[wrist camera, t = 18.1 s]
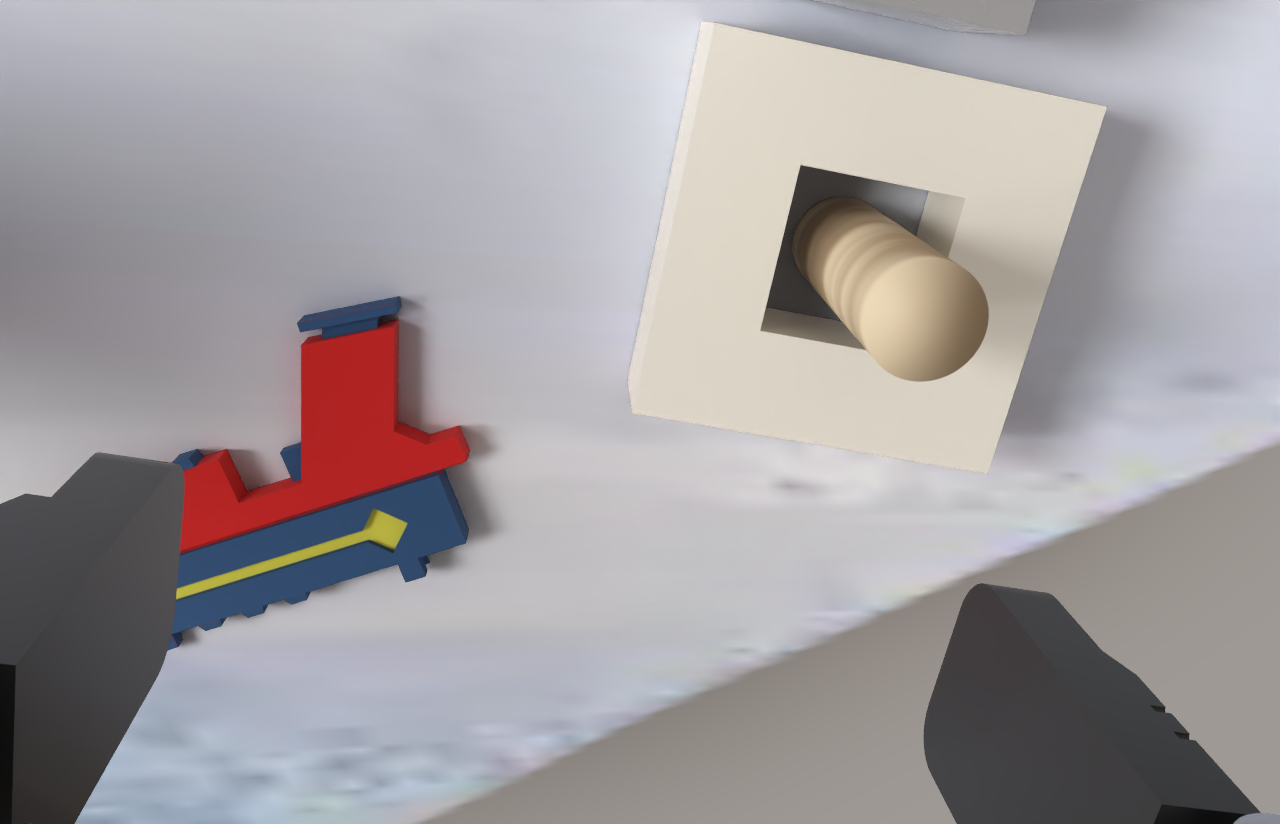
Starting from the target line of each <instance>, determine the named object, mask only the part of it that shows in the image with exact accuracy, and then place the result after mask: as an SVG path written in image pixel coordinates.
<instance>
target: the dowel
mask: <svg viewBox="0 0 1280 824" xmlns="http://www.w3.org/2000/svg"><path fill="white" fill-rule="evenodd" d="M793 256H794V260H795V263H796V265H797V267H798V269H799V271H800V272H801V273H802V275H803V276H804V277H805V278H806V280H807V281H808V282H809V283H810V284H811V285H812V287H813V288H814V289H815V290H816V291H817V293H818V294H819V295H820V296H821V297H822V298H823V300H824V301H825V302H826V303H827V304H828V305H829V307H830V308H831V309H832V310H833V311H834V313H835V314H836V315H837V316H838V317H839V318H840V320H841V321H842V322H843V323H844V324H845V326H846V327H847V328H848V329H849V330H850V331H851V333H852V334H853V335H854V336H855V337H856V338H857V340H858V341H859V342H860V343H861V344H862V346H863V347H864V348H865V349H866V350H867V351H868V353H869V354H870V355H871V356H872V357H873V359H874V360H875V361H876V362H877V363H878V364H879V365H880V366H881V367H882V368H883V369H884V370H886V371H887V372H888V373H890V374H892V375H894V376H896V377H898V378H901V379H904V380H908V381H916V382H925V381H932V380H937V379H940V378H943V377H946V376H948V375H950V374H952V373H954V372H956V371H957V370H958V369H960V368H961V367H963V366H964V365H965V364H966V363H967V362H968V361H969V360H970V359H971V358H972V357H973V356H974V355H975V353H976V352H977V350H978V349H979V347H980V345H981V344H982V342H983V340H984V337H985V334H986V331H987V327H988V320H989V308H988V302H987V299H986V295H985V293H984V291H983V289H982V287H981V285H980V284H979V282H978V281H977V280H976V278H975V277H974V276H973V275H972V274H971V273H969V272H968V271H967V270H966V269H964V268H963V267H961V266H960V265H958V264H957V263H955V262H954V261H952V260H951V259H949V258H948V257H946V256H945V255H943V254H942V253H940V252H939V251H937V250H936V249H934V248H933V247H931V246H930V245H928V244H927V243H925V242H924V241H923V240H921V239H920V238H918V237H917V236H915V235H914V234H912V233H911V232H909V231H908V230H906V229H905V228H903V227H902V226H900V225H899V224H897V223H896V222H894V221H893V220H891V219H890V218H888V217H887V216H885V215H884V214H882V213H881V212H879V211H878V210H876V209H875V208H873V207H872V206H870V205H869V204H867V203H866V202H864V201H862V200H860V199H857V198H853V197H847V196H838V197H832V198H828V199H826V200H823V201H821V202H819V203H817V204H816V205H814V206H813V207H812V208H810V209H809V210H808V211H807V212H806V213H805V215H804V216H803V217H802V218H801V220H800V222H799V223H798V225H797V228H796V230H795V233H794V237H793Z"/></svg>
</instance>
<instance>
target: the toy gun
mask: <svg viewBox="0 0 1280 824" xmlns="http://www.w3.org/2000/svg"><path fill="white" fill-rule="evenodd" d="M401 306H402V305H401V301H400V297H399V296H398V297H393V298H388V299H384V300H379V301H374V302H369V303H364V304H359V305H354V306H349V307H344V308H339V309H334V310H329V311H324V312H319V313H314V314H309V315H304V316H303V317H302V318H301V319H300V320H299V321H298V323H297V324H298V327H299V331H300V332H304V331H309V330H314V329H319V328H323V329H322V335H317V336H312V337H308V338H307V339H306V340H305V342H304V343H303V344H302V345H301V443H298V444H295V445H292V446H289V447H285V448H283V450H282V451H281V452H280V454H281V456H282V458H283V460H284V463H285V465H286V467H287V469H288V471H289V474H290V476H291V478H288V479H285V480H282V481H279V482H276V483H272V484H269V485H266V486H263V487H260V488H257V489H253V490H250V491H247V490H246V488H245V486H244V484H243V482H242V480H241V478H240V476H239V473H238V471H237V469H236V467H235V465H234V463H233V461H232V459H231V457H230V455H229V453H228V450H227V449H226V450H222V451H219V452H216V453H213V454H210V455H207V456H203V455H202V454H201V453H200V452H199V450H198V449H196V450H193V451H189V452H186V453H183V454H180V455H179V456H178V457H177V458H176V459H175V460H174V461H173V462H172V463H174V464H180V465H181V467H182V469H183V473H184V481H185V489H184V504H183V517H182V530H181V543H180V555H179V568H178V581H177V594H176V607H175V616H174V623H173V628H172V633H171V638H170V642H169V646H168V650H170V649H173V648H177V647H179V645H180V643H181V642H182V640H183V639H182V637H181V635H180V633H179V632H180V631H183V630H186V629H190V628H193V627H196V626H199V627H201V628H202V629H204V630H205V631H207V630H210V629H214V628H217V627H220V626H222V624H223V623H224V621H225V619H226V618H227V617H228V616H232V615H235V614H238V613H242V614H244V615H245V616H247V617H248V618H249V617H253V616H256V615H259V614H262V613H264V612H265V610H266V608H267V606H268V605H269V604H271V603H274V602H277V601H280V600H286V601H287V602H288V603H290V604H295V603H298V602H301V601H304V600H307V598H308V596H309V594H310V592H311V591H313V590H316V589H319V588H322V587H326V586H329V585H332V584H335V583H339V582H342V581H345V580H348V579H352V578H355V577H358V576H361V575H365V574H368V573H371V572H374V571H378V570H381V569H384V568H387V567H390V566H394V565H397V564H398V566H399V568H400V571H401V573H402V575H403V578H404V580H405V582H409V581H412V580H416V579H419V578H422V577H425V576H426V573H427V567H426V565H425V564H428V563H430V561H429V559H428V556H427V555H429V554H433V553H436V552H439V551H442V550H446V549H449V548H452V547H455V546H459V545H462V544H465V543H466V540H467V536H468V531H469V528H468V526H467V523H466V521H465V519H464V516H463V514H462V511H461V509H460V506H459V504H458V501H457V499H456V496H455V494H454V492H453V489H452V487H451V484H450V482H449V479H448V477H447V474H446V472H445V469H444V468H447V467H450V466H454V465H457V464H460V463H463V462H466V461H467V460H468V456H469V452H470V449H469V447H468V445H467V442H466V440H465V438H464V435H463V433H462V431H461V428H460V426H456V427H452V428H449V429H446V430H443V431H440V432H437V433H433V434H428V433H425V432H423V431H420V430H418V429H416V428H413V427H411V426H408V425H406V424H403V423H401V422H398V319H396V320H391V321H386V322H381V323H380V320H381V316H383V315H388V314H393V313H397V312H398V311H399V309H400V307H401Z"/></svg>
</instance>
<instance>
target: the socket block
mask: <svg viewBox="0 0 1280 824" xmlns="http://www.w3.org/2000/svg"><path fill="white" fill-rule="evenodd" d="M1106 109H1107V107H1106V106H1101V105H1096V104H1092V103H1087V102H1082V101H1078V100H1073V99H1068V98H1064V97H1059V96H1054V95H1050V94H1045V93H1040V92H1036V91H1031V90H1026V89H1022V88H1017V87H1012V86H1008V85H1003V84H998V83H994V82H989V81H984V80H980V79H975V78H970V77H966V76H961V75H956V74H952V73H947V72H942V71H938V70H933V69H928V68H924V67H919V66H914V65H910V64H905V63H900V62H896V61H891V60H886V59H882V58H877V57H873V56H868V55H863V54H859V53H854V52H849V51H845V50H840V49H835V48H831V47H826V46H821V45H817V44H812V43H807V42H803V41H798V40H793V39H789V38H784V37H779V36H775V35H770V34H765V33H761V32H756V31H751V30H747V29H742V28H737V27H733V26H728V25H723V24H719V23H713V22H701V27H700V32H699V37H698V42H697V46H696V51H695V56H694V61H693V66H692V71H691V75H690V80H689V85H688V90H687V95H686V100H685V104H684V109H683V114H682V119H681V124H680V129H679V134H678V138H677V143H676V148H675V153H674V158H673V163H672V167H671V172H670V177H669V182H668V187H667V192H666V196H665V201H664V206H663V211H662V216H661V221H660V225H659V230H658V235H657V240H656V245H655V250H654V254H653V259H652V264H651V269H650V274H649V279H648V283H647V288H646V293H645V298H644V303H643V308H642V312H641V317H640V322H639V327H638V332H637V337H636V341H635V346H634V351H633V356H632V361H631V366H630V370H629V375H628V386H629V393H630V400H631V407H632V413H633V414H639V415H645V416H651V417H657V418H663V419H668V420H674V421H680V422H686V423H692V424H698V425H703V426H709V427H715V428H721V429H727V430H733V431H738V432H744V433H750V434H756V435H762V436H767V437H773V438H779V439H785V440H791V441H797V442H802V443H808V444H814V445H820V446H826V447H832V448H837V449H843V450H849V451H855V452H861V453H867V454H872V455H878V456H884V457H890V458H896V459H901V460H907V461H913V462H919V463H925V464H931V465H936V466H942V467H948V468H954V469H960V470H966V471H971V472H977V473H983V474H988V471H989V468H990V465H991V462H992V459H993V456H994V453H995V450H996V447H997V444H998V441H999V438H1000V434H1001V431H1002V428H1003V425H1004V422H1005V419H1006V416H1007V413H1008V410H1009V407H1010V404H1011V401H1012V398H1013V395H1014V391H1015V388H1016V385H1017V382H1018V379H1019V376H1020V373H1021V370H1022V367H1023V364H1024V361H1025V358H1026V355H1027V352H1028V348H1029V345H1030V342H1031V339H1032V336H1033V333H1034V330H1035V327H1036V324H1037V321H1038V318H1039V315H1040V312H1041V309H1042V305H1043V302H1044V299H1045V296H1046V293H1047V290H1048V287H1049V284H1050V281H1051V278H1052V275H1053V272H1054V269H1055V266H1056V262H1057V259H1058V256H1059V253H1060V250H1061V247H1062V244H1063V241H1064V238H1065V235H1066V232H1067V229H1068V226H1069V222H1070V219H1071V216H1072V213H1073V210H1074V207H1075V204H1076V201H1077V198H1078V195H1079V192H1080V189H1081V186H1082V183H1083V179H1084V176H1085V173H1086V170H1087V167H1088V164H1089V161H1090V158H1091V155H1092V152H1093V149H1094V146H1095V143H1096V140H1097V136H1098V133H1099V130H1100V127H1101V124H1102V121H1103V118H1104V115H1105V112H1106ZM800 165H804V166H809V167H813V168H818V169H823V170H828V171H833V172H838V173H843V174H848V175H853V176H858V177H863V178H868V179H873V180H878V181H883V182H888V183H893V184H898V185H903V186H908V187H913V188H918V189H923V190H928V191H929V192H928V195H927V199H926V203H925V206H924V210H923V213H922V217H921V220H920V224H919V227H918V231H917V234H916V236H917V237H918V238H920V239H921V240H923V241H924V242H925V243H927V244H928V245H930V246H931V247H933V248H934V249H936V250H937V251H939V252H940V253H942V254H943V255H945V256H946V257H948V258H949V259H951V260H952V261H954V262H955V263H957V264H958V265H960V266H961V267H963V268H964V269H966V270H967V271H968V272H969V273H971V274H972V275H973V276H974V277H975V278H976V280H977V281H978V282H979V284H980V285H981V287H982V289H983V291H984V293H985V295H986V299H987V302H988V308H989V320H988V327H987V331H986V334H985V337H984V340H983V342H982V344H981V345H980V347H979V349H978V350H977V352H976V353H975V355H974V356H973V357H972V358H971V359H970V360H969V361H968V362H967V363H966V364H965V365H964V366H963V367H961V368H960V369H958V370H957V371H956V372H954V373H952V374H950V375H948V376H946V377H943V378H940V379H937V380H932V381H925V382H916V381H908V380H904V379H901V378H898V377H896V376H894V375H892V374H890V373H888V372H887V371H886V370H884V369H883V368H882V367H881V366H880V365H879V364H878V363H877V362H876V361H875V360H874V359H873V357H872V356H871V355H870V354H869V353H868V351H867V350H866V349H865V348H864V347H863V346H862V344H861V343H860V342H859V341H858V340H857V338H856V337H855V336H854V335H853V334H852V333H851V331H850V330H849V329H848V328H847V327H846V326H845V324H844V323H843V322H842V321H837V320H831V319H826V318H821V317H815V316H810V315H804V314H799V313H794V312H788V311H783V310H777V309H772V308H767V307H766V305H767V301H768V297H769V292H770V288H771V284H772V280H773V276H774V272H775V268H776V264H777V260H778V256H779V251H780V247H781V243H782V239H783V235H784V231H785V227H786V223H787V219H788V214H789V210H790V206H791V202H792V198H793V194H794V190H795V186H796V182H797V177H798V173H799V169H800Z"/></svg>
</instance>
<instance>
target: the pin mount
mask: <svg viewBox="0 0 1280 824" xmlns="http://www.w3.org/2000/svg"><path fill="white" fill-rule="evenodd" d="M813 1H818V2H822V3H827V4H832V5H836V6H841V7H845V8H850V9H854V10H859V11H864V12H868V13H873V14H877V15H882V16H886V17H891V18H896V19H900V20H905V21H909V22H914V23H918V24H923V25H927V26H932V27H937V28H941V29H946V30H950V31H955V32H973V33H991V34H1009V35H1026V33H1027V29H1028V26H1029V23H1030V19H1031V16H1032V12H1033V9H1034V6H1035V2H1036V0H813Z"/></svg>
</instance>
